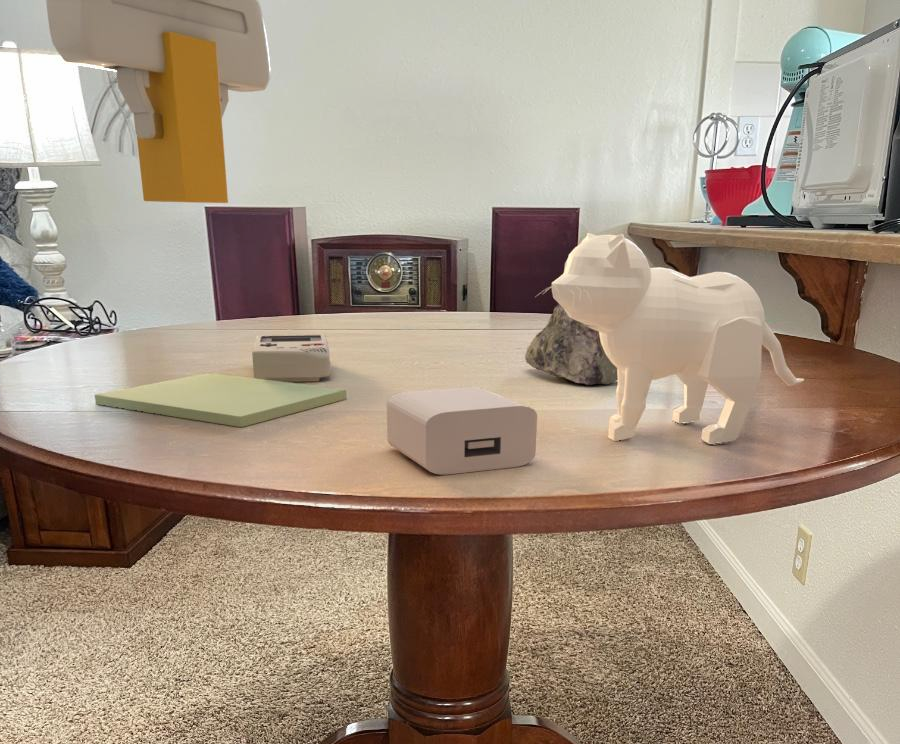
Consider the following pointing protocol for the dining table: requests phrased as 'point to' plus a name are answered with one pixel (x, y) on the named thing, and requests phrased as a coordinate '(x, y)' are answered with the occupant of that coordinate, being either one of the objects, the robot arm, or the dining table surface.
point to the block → (185, 126)
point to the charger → (461, 429)
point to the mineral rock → (571, 351)
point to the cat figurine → (669, 332)
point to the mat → (222, 398)
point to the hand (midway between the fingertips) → (179, 141)
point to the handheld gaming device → (291, 357)
